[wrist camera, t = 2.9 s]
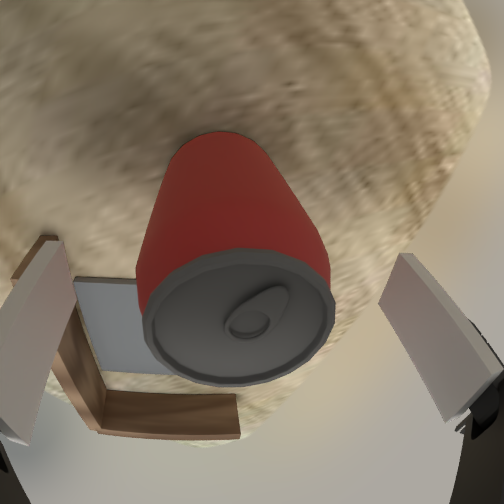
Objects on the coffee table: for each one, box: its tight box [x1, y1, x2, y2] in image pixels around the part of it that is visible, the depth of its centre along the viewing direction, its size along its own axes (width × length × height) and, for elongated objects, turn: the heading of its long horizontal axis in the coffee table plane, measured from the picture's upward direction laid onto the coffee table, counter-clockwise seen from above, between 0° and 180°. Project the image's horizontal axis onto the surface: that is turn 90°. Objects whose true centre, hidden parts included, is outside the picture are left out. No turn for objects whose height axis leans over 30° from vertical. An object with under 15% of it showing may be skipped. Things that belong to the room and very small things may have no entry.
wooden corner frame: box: [11, 236, 241, 440], centre depth 23 cm, size 21×16×5 cm
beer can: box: [136, 131, 336, 387], centre depth 13 cm, size 7×7×12 cm
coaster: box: [73, 277, 176, 375], centre depth 24 cm, size 11×11×1 cm
